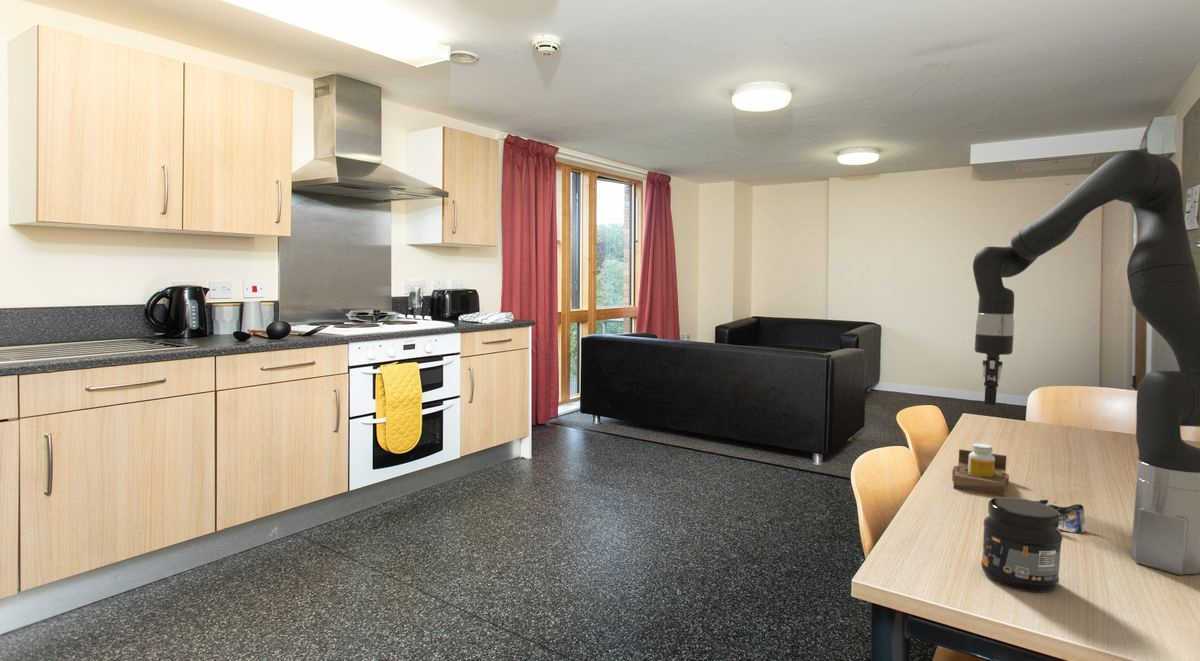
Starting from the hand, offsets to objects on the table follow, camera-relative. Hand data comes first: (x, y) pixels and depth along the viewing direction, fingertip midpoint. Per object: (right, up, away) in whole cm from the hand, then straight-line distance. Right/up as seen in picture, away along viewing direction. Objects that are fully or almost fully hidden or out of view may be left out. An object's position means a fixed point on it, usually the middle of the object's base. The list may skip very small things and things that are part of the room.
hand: (990, 401), depth 148 cm
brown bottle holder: (-1, -20, +2) cm, 20 cm away
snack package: (-3, -22, -22) cm, 31 cm away
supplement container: (-24, -24, -46) cm, 57 cm away
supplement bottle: (-1, -20, +2) cm, 20 cm away
